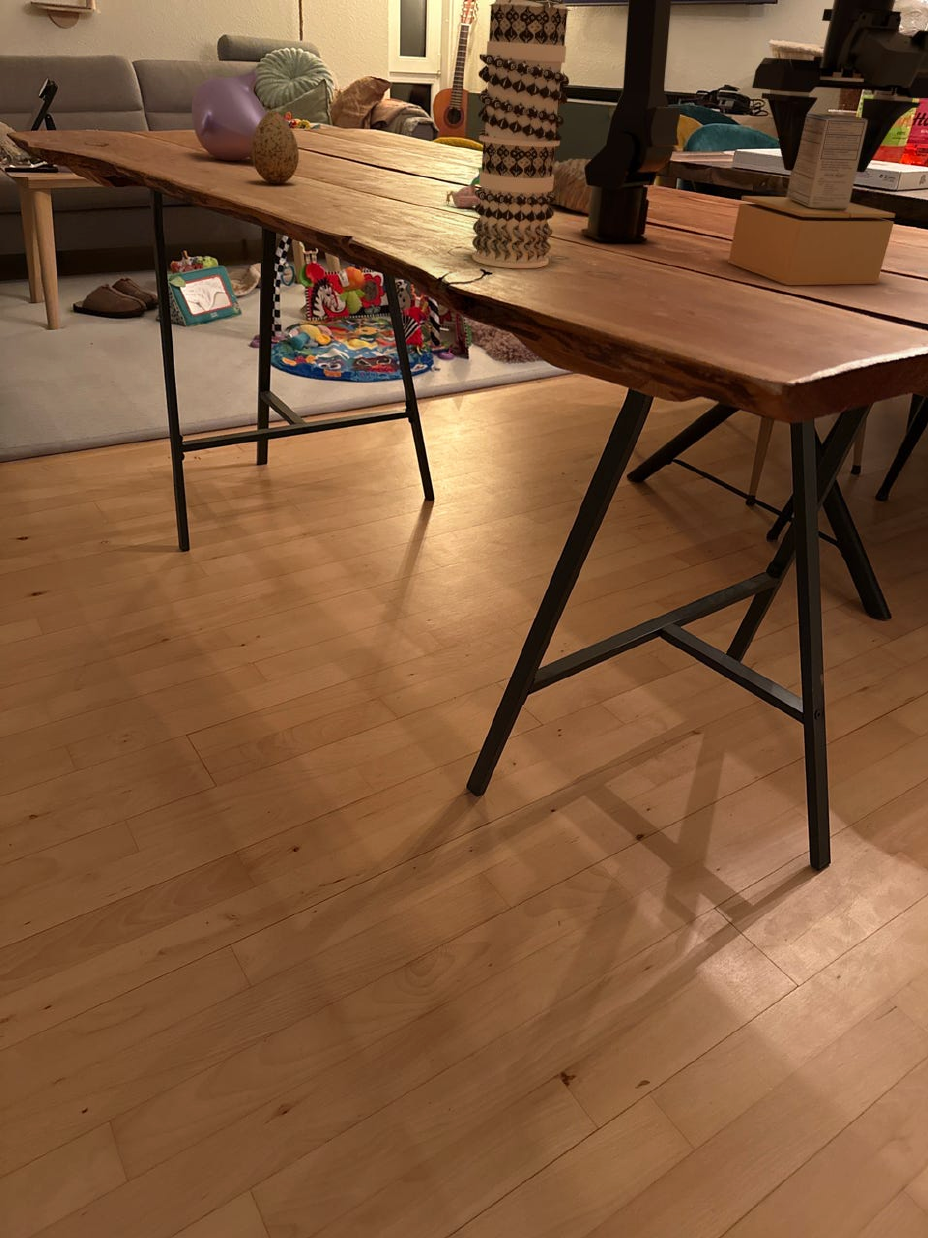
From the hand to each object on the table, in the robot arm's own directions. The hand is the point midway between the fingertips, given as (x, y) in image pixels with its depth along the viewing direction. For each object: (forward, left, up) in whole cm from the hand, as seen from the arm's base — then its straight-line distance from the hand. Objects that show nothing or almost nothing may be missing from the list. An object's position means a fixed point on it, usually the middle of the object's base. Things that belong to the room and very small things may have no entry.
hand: (824, 171), depth 101 cm
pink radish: (-24, +41, -11) cm, 49 cm away
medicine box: (0, 0, -4) cm, 4 cm away
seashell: (-8, +44, -11) cm, 46 cm away
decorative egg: (-50, +67, -11) cm, 84 cm away
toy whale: (-53, +94, -11) cm, 108 cm away
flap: (-3, 0, -4) cm, 5 cm away
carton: (0, 0, -10) cm, 10 cm away
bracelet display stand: (-33, +8, -11) cm, 35 cm away
